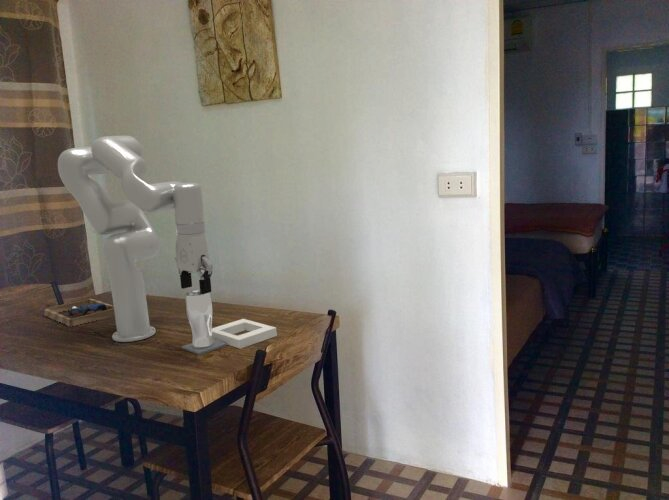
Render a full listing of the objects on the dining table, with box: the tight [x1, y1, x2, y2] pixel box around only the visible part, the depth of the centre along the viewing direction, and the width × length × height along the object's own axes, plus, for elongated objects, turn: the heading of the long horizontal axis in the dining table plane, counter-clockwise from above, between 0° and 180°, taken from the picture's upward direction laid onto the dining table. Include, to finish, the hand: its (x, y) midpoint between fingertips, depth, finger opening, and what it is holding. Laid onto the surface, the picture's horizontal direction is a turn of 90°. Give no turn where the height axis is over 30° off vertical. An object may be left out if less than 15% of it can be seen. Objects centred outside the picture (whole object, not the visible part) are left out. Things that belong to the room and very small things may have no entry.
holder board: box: [212, 318, 278, 350], centre depth 176 cm, size 16×13×2 cm
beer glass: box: [185, 289, 214, 348], centre depth 168 cm, size 7×7×15 cm
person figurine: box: [68, 303, 107, 316], centre depth 212 cm, size 11×4×18 cm
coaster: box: [181, 339, 228, 356], centre depth 169 cm, size 9×9×1 cm
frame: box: [43, 297, 115, 328], centre depth 213 cm, size 24×17×2 cm
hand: (196, 290), depth 167 cm, fingers open, 9 cm apart
